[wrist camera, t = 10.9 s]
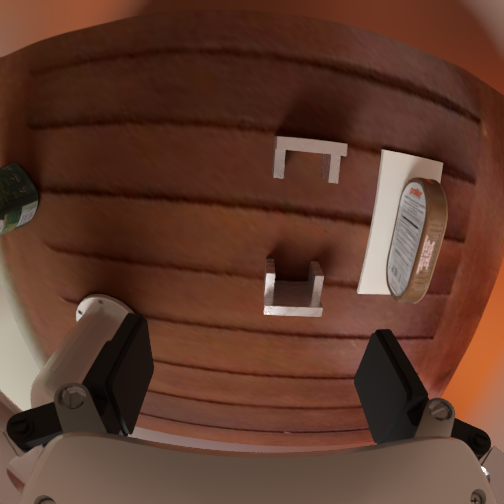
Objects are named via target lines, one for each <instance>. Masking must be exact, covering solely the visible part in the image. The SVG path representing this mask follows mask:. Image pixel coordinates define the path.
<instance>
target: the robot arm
mask: <svg viewBox="0 0 504 504" xmlns="http://www.w3.org/2000/svg"><path fill="white" fill-rule="evenodd" d="M76 320H77V323H76V324H75V326H74V327H73V328H72V329H71V331H70V332H69V333H68V335H67V336H66V337H65V338H64V340H63V341H62V342H61V344H60V345H59V346H58V348H57V349H56V350H55V352H54V353H53V355H52V356H51V357H50V359H49V360H48V361H47V363H46V364H45V366H44V367H43V368H42V370H41V371H40V372H39V374H38V375H37V377H36V378H35V380H34V382H33V385H32V389H31V407H32V409H29V410H26V411H22V410H21V409H20V408H18V406H16V405H15V404H14V403H13V402H12V401H11V400H10V399H9V398H8V397H7V396H6V395H5V394H4V393H3V392H2V391H1V390H0V504H504V453H503V452H502V451H500V450H499V449H498V448H497V447H495V446H493V447H491V441H490V438H489V436H488V434H487V433H486V432H484V431H483V430H481V429H478V428H476V427H474V426H471V425H469V424H467V423H465V422H462V421H461V420H458V419H456V418H455V410H454V407H453V406H452V404H450V403H449V402H448V401H447V400H445V399H442V398H433V399H430V400H429V398H428V393H427V391H426V389H425V387H424V386H423V384H422V382H421V380H420V379H419V377H418V375H417V373H416V372H415V370H414V368H413V366H412V365H411V363H410V361H409V360H408V358H407V356H406V354H405V353H404V351H403V349H402V348H401V346H400V344H399V343H398V341H397V340H396V338H395V336H394V335H393V333H392V331H391V330H390V329H378V330H376V331H375V333H373V334H372V335H371V338H370V340H369V343H368V345H367V348H366V351H365V353H364V356H363V358H362V360H361V363H360V365H359V368H358V370H357V372H356V375H355V377H354V384H355V387H356V390H357V393H358V396H359V399H360V401H361V404H362V407H363V410H364V413H365V416H366V419H367V422H368V425H369V428H370V431H371V434H372V437H373V440H374V442H375V443H377V445H370V446H363V447H357V448H348V449H339V450H328V451H314V452H293V453H255V452H234V451H219V450H209V449H200V448H192V447H184V446H177V445H171V444H165V443H159V442H153V441H147V440H142V439H137V438H132V437H127V436H128V434H132V433H133V430H134V427H135V424H136V421H137V418H138V415H139V412H140V409H141V406H142V403H143V400H144V398H145V395H146V392H147V389H148V386H149V383H150V380H151V378H152V375H153V371H154V365H153V359H152V352H151V346H150V339H149V332H148V325H147V320H146V319H145V318H143V316H142V315H141V314H135V313H134V312H133V311H132V310H131V309H130V308H129V307H128V306H127V305H125V304H124V303H122V302H121V301H119V300H117V299H116V298H113V297H111V296H108V295H103V294H93V295H89V296H87V297H86V298H84V299H83V300H82V301H81V302H80V304H79V305H78V307H77V310H76Z"/></svg>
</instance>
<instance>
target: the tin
mask: <svg viewBox="0 0 504 504" xmlns="http://www.w3.org/2000/svg"><path fill="white" fill-rule="evenodd" d="M447 219H448V204H447V198H446V194H445V191H444V189H443V187H442V185H441V184H440V183H439V182H438V181H436V180H434V179H426V178H421V177H416V178H412V179H410V180H409V181H408V182H407V183H406V185H405V187H404V189H403V191H402V193H401V196H400V200H399V206H398V210H397V216H396V220H395V225H394V230H393V235H392V239H391V244H390V248H389V252H388V257H387V264H386V281H387V286H388V289H389V291H390V294H391V296H392V297H393V299H394V300H395V301H397V302H409V303H413V304H414V303H417V302H419V301H420V300H421V299H422V298H423V297H424V295H425V294H426V292H427V289H428V287H429V284H430V281H431V278H432V275H433V272H434V268H435V265H436V262H437V258H438V255H439V252H440V248H441V245H442V241H443V237H444V233H445V230H446V225H447Z"/></svg>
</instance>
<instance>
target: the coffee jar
mask: <svg viewBox="0 0 504 504" xmlns="http://www.w3.org/2000/svg"><path fill="white" fill-rule="evenodd" d="M38 202H39V198H38V192H37V189H36V187H35V186H34V184H33V182H32V181H31V179H30V178H29V176H28V175H27V174H26V173H25V171H24V170H23V169H22V168H21V167H20V166H19V165H17V164H15V163H12V164H9V165H6V166H3V167H1V168H0V235H3V234H5V233H7V232H10V231H12V230H15V229H17V228H19V227H21V226H23V225H25V224H27V223H28V222H29V221H30V220H31V219H32V217H33V216H34V214H35V212H36V210H37V207H38Z"/></svg>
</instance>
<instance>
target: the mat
mask: <svg viewBox="0 0 504 504" xmlns="http://www.w3.org/2000/svg"><path fill="white" fill-rule="evenodd" d="M442 168H443V163H441V162H438V161H434V160H430V159H425V158H421V157H417V156H412V155H408V154H403V153H398V152H393V151H388V150H383V149H382V153H381V162H380V170H379V178H378V185H377V192H376V199H375V205H374V211H373V217H372V223H371V229H370V234H369V239H368V244H367V249H366V254H365V259H364V263H363V268H362V272H361V276H360V281H359V285H358V289H357V293H358V294H390V291H389V289H388V286H387V281H386V264H387V257H388V252H389V248H390V244H391V239H392V235H393V230H394V225H395V220H396V216H397V210H398V206H399V200H400V196H401V193H402V191H403V189H404V187H405V185H406V183H407V182H408V181H409V180H410V179H412V178H416V177H421V178H426V179H434V180H436V181H438V182H439V183H440V181H441V175H442Z"/></svg>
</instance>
